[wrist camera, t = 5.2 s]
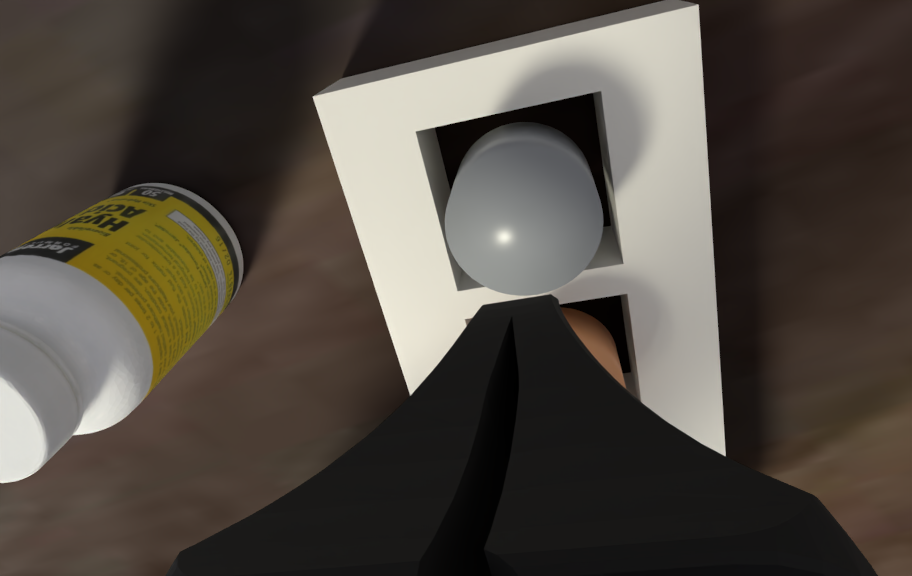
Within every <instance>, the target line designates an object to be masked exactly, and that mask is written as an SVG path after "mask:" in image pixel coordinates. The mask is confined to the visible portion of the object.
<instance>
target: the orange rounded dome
mask: <svg viewBox="0 0 912 576" xmlns="http://www.w3.org/2000/svg"><path fill="white" fill-rule="evenodd" d="M560 308H561V310H562V312H563V314H564V316H565V318H566V319H567V321H568V323H569V324H570V326H571V327H572V329H573V330H574V332H575V333H576V335H577V336H578V337H579V338H580V340H581V341H582V342H583V343H584V345H585V346H586V347H587V349H588V350H589V351H590V352H591V354H592V355H593V356H594V357H595V358H596V359H597V360H598V362H599V363H600V364H601V365H602V366H603V367H604V368H605V369H606V370H607V371H608V372H609V373H610V374H611V375H612V376H613V377H614V378H615V379H616V380H617V381H618V382H619V383H620V384H621V385H622V386H623V387H624V388H625V389H626V386H625V382H624V378H623V374H622V369H621V365H620V361H619V357H618V353H617V349H616V344H615V342H614V339H613V337H612V336H611V334H610V332H609V331H608V330H607V328H606V327H605V326H604V325H603V324H602V323H601V322H600V321H598V320H597V319H595V318H594V317H592V316H590V315H588V314H587V313H584V312H581V311H579V310H575V309H571V308H563V307H560Z"/></svg>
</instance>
